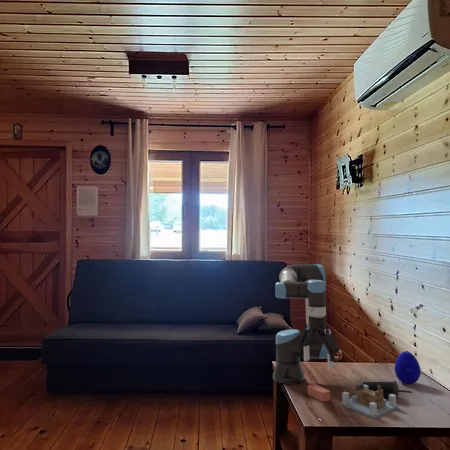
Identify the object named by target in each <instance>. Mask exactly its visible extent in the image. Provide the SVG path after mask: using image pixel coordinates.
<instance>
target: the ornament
mask: <svg viewBox="0 0 450 450" xmlns="http://www.w3.org/2000/svg"><path fill="white" fill-rule="evenodd" d="M419 363H420V362H419V361H418V359H417V357H416V356H415V355H414V354H413V353H412V352H410V351H408V350H404V351H402V352H401V353H400V354H398V356H397V358H396V360H395V363H394V373H395V376H396V378H397V380H399V381H400V382H401V383H403V384H406V385H413V384H415V383H417V382H418V380H420V377H421V374H422V372H421V365H420V364H419Z"/></svg>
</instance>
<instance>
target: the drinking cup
mask: <svg viewBox="0 0 450 450" xmlns="http://www.w3.org/2000/svg"><path fill="white" fill-rule="evenodd" d="M362 383H363V384H365V385H368V387H369V390H372V391H377V385H380V386H381V389H383V399H385V398H386V399H389V395H390V394H394V395H396V401H397V400H398V398H399V396H400V393H408V394H413V390H401V389H400V388H399V385H398V383H397V382H396V381H362Z"/></svg>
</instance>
